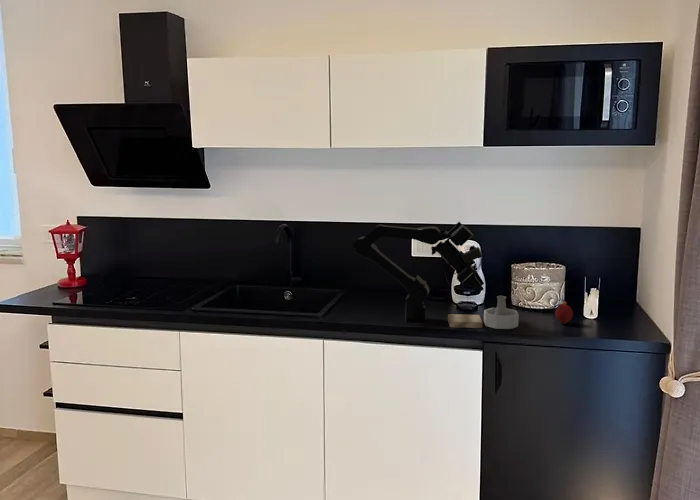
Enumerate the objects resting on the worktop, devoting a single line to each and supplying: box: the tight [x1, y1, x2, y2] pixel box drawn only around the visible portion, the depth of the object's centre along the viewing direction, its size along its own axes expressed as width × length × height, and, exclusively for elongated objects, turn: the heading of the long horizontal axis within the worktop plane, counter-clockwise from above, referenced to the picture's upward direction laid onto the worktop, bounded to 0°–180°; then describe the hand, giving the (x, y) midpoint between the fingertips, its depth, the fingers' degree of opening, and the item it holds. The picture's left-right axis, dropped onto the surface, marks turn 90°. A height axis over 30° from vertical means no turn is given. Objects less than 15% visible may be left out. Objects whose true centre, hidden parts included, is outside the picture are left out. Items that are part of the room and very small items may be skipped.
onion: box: [554, 301, 574, 325], centre depth 223 cm, size 6×6×8 cm
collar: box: [483, 307, 520, 330], centre depth 223 cm, size 11×11×4 cm
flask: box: [494, 295, 509, 316], centre depth 223 cm, size 7×7×10 cm
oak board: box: [447, 313, 484, 329], centre depth 224 cm, size 11×10×2 cm
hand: (483, 287), depth 223 cm, fingers open, 9 cm apart
